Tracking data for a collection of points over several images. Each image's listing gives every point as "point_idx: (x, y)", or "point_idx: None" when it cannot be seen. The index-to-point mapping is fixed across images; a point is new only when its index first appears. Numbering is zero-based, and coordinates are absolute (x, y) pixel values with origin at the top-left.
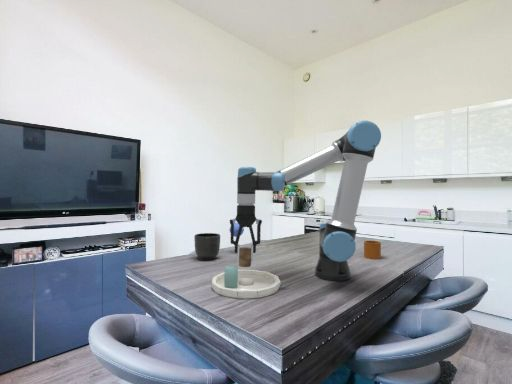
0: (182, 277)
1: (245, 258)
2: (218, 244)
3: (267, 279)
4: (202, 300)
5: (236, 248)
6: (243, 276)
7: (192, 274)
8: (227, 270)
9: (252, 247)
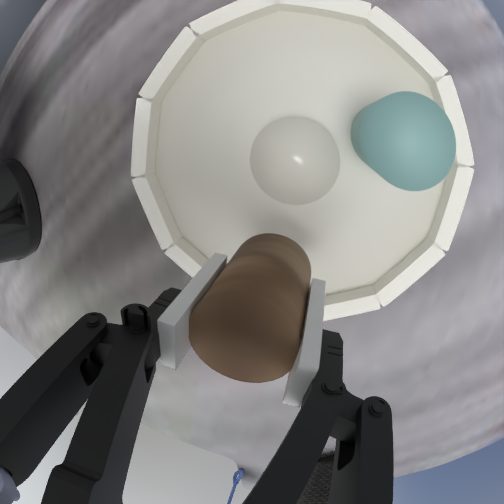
0: (493, 337)
1: (266, 259)
2: (303, 494)
3: (179, 188)
4: (495, 64)
5: (327, 358)
6: (302, 192)
7: (455, 360)
8: (440, 110)
9: (171, 312)
